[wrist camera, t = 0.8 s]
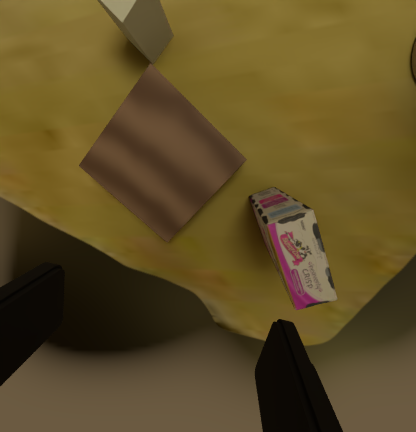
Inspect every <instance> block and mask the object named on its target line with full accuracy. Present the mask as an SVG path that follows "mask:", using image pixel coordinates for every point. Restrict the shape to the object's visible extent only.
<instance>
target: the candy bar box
mask: <svg viewBox="0 0 416 432" xmlns="http://www.w3.org/2000/svg"><path fill="white" fill-rule="evenodd" d="M249 198H250V201H251V204H252V207H253V210H254V213H255V216H256V219H257V222H258V225H259V228H260V231H261V234H262V236H263V239H264V242H265V244H266V247H267V250H268V252H269V254H270V256H271V258H272V260H273V262H274V264H275V267H276V269H277V271H278V273H279V275H280V278H281V280H282V282H283V284H284V287H285V289H286V291H287V293H288V295H289V297H290V299H291V302H292V304H293V306H294V308H295V310H299V309H303V308H307V307H310V306H314V305H317V304H322V303H327V302H330V301H334V300H337V296H336V292H335V289H334V284H333V280H332V277H331V273H330V269H329V265H328V262H327V258H326V254H325V250H324V247H323V243H322V239H321V235H320V232H319V228H318V225H317V221H316V218H315V214H314V211H313V209H311V208H309V207H307V206H306V205H304V204H302V203H301V202H299V201H297V200H296V199H294V198H292V197H291V196H288V195H287V194H286V193H284V192H282V191H280V190H279V189H277V188H275V187H273V188H270V189H267V190H265V191H262V192H259V193H256V194H253V195H250V196H249Z"/></svg>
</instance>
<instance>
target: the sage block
mask: <svg viewBox="0 0 416 432" xmlns="http://www.w3.org/2000/svg"><path fill="white" fill-rule="evenodd" d="M98 2H99V3H100V4H101V5H102V7H103V8H104V9H105V11H106V12H107V13H108V14H109V16H110V17H111V18H112V19H113V21H114V22H115V23H116V25H117V26H118V27H119V28H120V30H121V31H122V32H123V33H124V35H125V36H126V37H127V39H128V40H129V41H130V42H131V43H132V44H133V45H134V46H135V47H136V48H137V49H138V50H139V51H140V52H141V53H142V54H143V55H144V56H145V57H146V58H147V59H148V60H149V61H150V62H151V63H152V64H154V62H155V61H156V60H157V58H158V57H159V55H160V54H161V53H162V51H163V50H164V48H165V47H166V46H167V44H168V43H169V41H170V40H171V38H172V37H173V36H174V35H173V33H172V30H171V28H170V25H169V23H168V20H167V18H166V15H165V13H164V10H163V8H162V5H161V3H160V0H98Z"/></svg>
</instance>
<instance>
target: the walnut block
mask: <svg viewBox="0 0 416 432" xmlns="http://www.w3.org/2000/svg"><path fill="white" fill-rule="evenodd" d="M246 160H247V159H246V158H245V157H244V156H243V155H242V154H241V153H240V152H239V151H238V150H237V149H236V148H235V147H234V146H233V145H232V144H231V143H230V142H229V141H228V140H227V139H226V138H225V137H224V136H223V135H222V134H221V133H220V132H219V131H218V130H217V129H216V128H215V127H214V126H213V125H212V124H211V123H210V122H209V121H208V120H207V119H206V118H205V117H204V116H203V115H202V114H201V113H200V112H199V111H198V110H197V109H196V108H195V107H194V106H193V105H192V104H191V103H190V102H189V101H188V100H187V99H186V98H185V97H184V96H183V95H182V94H181V93H180V92H179V91H178V90H177V89H176V88H175V87H174V86H173V85H172V84H171V83H170V82H169V81H168V80H167V79H166V78H165V77H164V76H163V75H162V74H161V73H160V72H159V71H158V70H157V69H156V68H155V67H154V66H153V65H152V64H151V63H150V65H149V66H148V67H147V69H146V70H145V72H144V73H143V75H142V76H141V77H140V79H139V80H138V82H137V83H136V85H135V86H134V87H133V89H132V90H131V92H130V93H129V95H128V96H127V97H126V99H125V100H124V102H123V103H122V105H121V106H120V107H119V109H118V110H117V112H116V113H115V115H114V116H113V117H112V119H111V120H110V122H109V123H108V125H107V126H106V127H105V129H104V130H103V132H102V133H101V135H100V136H99V137H98V139H97V140H96V142H95V143H94V145H93V146H92V147H91V149H90V150H89V152H88V153H87V155H86V156H85V157H84V159H83V160H82V162H81V163H80V165H79V166H80V167H81V168H82V169H83V170H84V171H85V172H87V173H88V174H89V175H90V176H91V177H92V178H94V179H95V180H96V181H97V182H98V183H99V184H100V185H102V186H103V187H104V188H105V189H106V190H107V191H108V192H110V193H111V194H112V195H113V196H114V197H115V198H117V199H118V200H119V201H120V202H121V203H122V204H123V205H125V206H126V207H127V208H128V209H129V210H130V211H131V212H133V213H134V214H135V215H136V216H137V217H138V218H139V219H141V220H142V221H143V222H144V223H145V224H146V225H148V226H149V227H150V228H151V229H152V230H153V231H154V232H156V233H157V234H158V235H159V236H160V237H161V238H162V239H164V240H165V241H166V242H168V241H169V240H170V239H171V238H172V237H173V236H174V235H175V234H176V233H177V232H178V231H179V230H180V229H181V228H182V227H183V226H184V225H185V224H186V223H187V222H188V220H189V219H190V218H191V217H192V216H193V215H194V214H195V213H196V212H197V211H198V210H199V209H200V208H201V207H202V206H203V205H204V204H205V203H206V202H207V201H208V200H209V199H210V198H211V196H212V195H213V194H214V193H215V192H216V191H217V190H218V189H219V188H220V187H221V186H222V185H223V184H224V183H225V182H226V181H227V180H228V179H229V178H230V177H231V176H232V175H233V173H234V172H235V171H236V170H237V169H238V168H239V167H240V166H241V165H242V164H243V163H244V162H245V161H246Z"/></svg>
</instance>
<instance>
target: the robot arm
mask: <svg viewBox="0 0 416 432" xmlns="http://www.w3.org/2000/svg"><path fill="white" fill-rule="evenodd" d="M412 68H413V73H414V76H415V78H416V41H415V44H414V48H413V53H412ZM64 274H65V272H64V270H63V269H62V267H61V266H60V265H57V264H53V263H49V262H45V263H42V264H41V265H39V266H37V267H35V268H34V269H32V270H30V271H28V272H27V273H25V274H23V275H21V276H20V277H18V278H16V279H14V280H13V281H11V282H9V283H7V284H6V285H4V286H2V287H0V386H1V385H2V384H3V383H4V382H5V381H6V380H7V379H8V378H9V377H10V376H11V375H12V374H13V373H14V372H15V371H16V370H17V369H18V368H19V367H20V366H21V365H22V364H23V363H24V362H25V361H26V360H27V359H28V358H29V357H30V356H31V355H32V354H33V353H34V352H35V351H36V350H37V349H38V348H39V347H40V346H41V345H42V344H43V342H45V341H46V340H47V339H48V338H49V337H50V336H51V335H52V334H53V333H54V332H55V331H56V330H57V329H58V327H59V326H60V325H61V323H62V321H63V306H64V305H63V304H64V276H65V275H64ZM255 380H256V387H257V394H258V401H259V408H260V415H261V422H262V429H263V432H343V430H342V428H341V426H340V424H339V421H338V419H337V417H336V415H335V412H334V410H333V408H332V405H331V403H330V401H329V399H328V396H327V394H326V392H325V390H324V387H323V385H322V383H321V380H320V378H319V376H318V374H317V371H316V369H315V368H314V366H313V364H312V363H311V362H310V360H309V358H308V355H307V353H306V351H305V348H304V346H303V343H302V341H301V339H300V336H299V334H298V332H297V329H296V327H295V325H294V323H293V322H290V321H286V320H281V319H278V320H277V322H273V324H272V326H271V329H270V331H269V334H268V336H267V339H266V342H265V344H264V347H263V349H262V352H261V355H260V357H259V360H258V362H257V365H256V368H255Z"/></svg>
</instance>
